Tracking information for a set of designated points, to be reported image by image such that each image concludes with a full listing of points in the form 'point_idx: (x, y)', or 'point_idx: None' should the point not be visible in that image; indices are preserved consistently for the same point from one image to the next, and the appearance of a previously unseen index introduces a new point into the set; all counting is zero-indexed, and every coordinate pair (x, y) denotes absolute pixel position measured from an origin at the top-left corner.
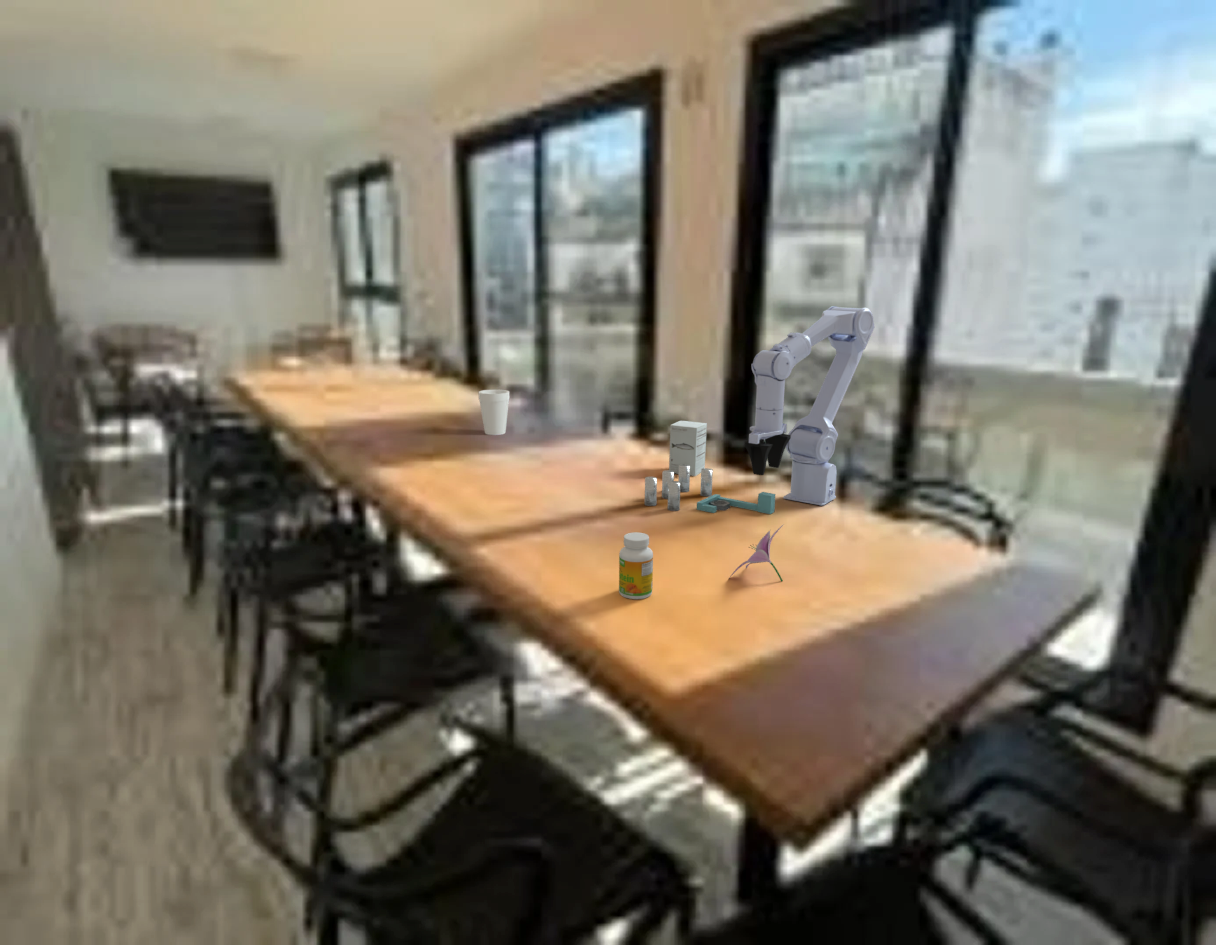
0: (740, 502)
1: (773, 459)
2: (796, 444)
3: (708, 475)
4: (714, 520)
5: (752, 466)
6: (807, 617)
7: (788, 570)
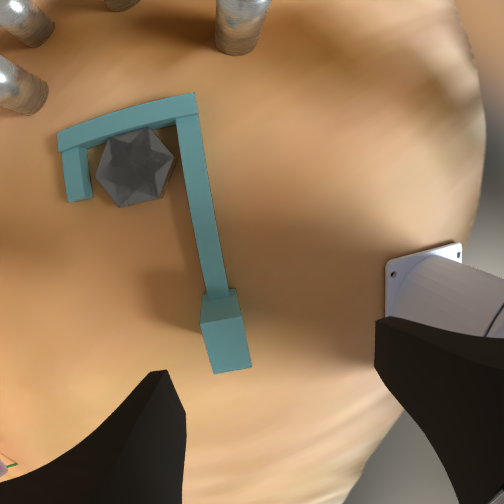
0: (193, 222)
1: (402, 367)
2: None
3: (227, 8)
4: (36, 256)
5: (128, 399)
6: None
7: (35, 465)
